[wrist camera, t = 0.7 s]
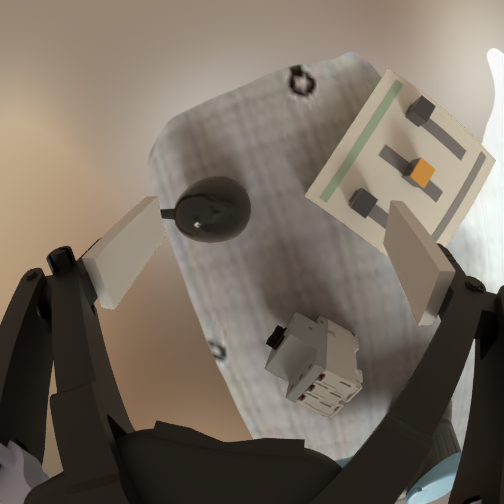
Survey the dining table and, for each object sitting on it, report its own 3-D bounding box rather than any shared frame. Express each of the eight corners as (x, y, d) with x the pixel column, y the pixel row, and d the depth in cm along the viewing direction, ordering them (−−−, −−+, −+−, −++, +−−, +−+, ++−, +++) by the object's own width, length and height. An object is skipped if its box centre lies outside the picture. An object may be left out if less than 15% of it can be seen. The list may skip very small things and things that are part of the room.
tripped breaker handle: (424, 170, 34) (435, 169, 30) (414, 187, 35) (424, 187, 31) (411, 160, 34) (421, 157, 30) (401, 176, 35) (410, 176, 31)
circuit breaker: (290, 297, 49) (274, 342, 35) (357, 335, 48) (363, 388, 34) (269, 329, 51) (248, 378, 37) (333, 364, 50) (331, 419, 36)
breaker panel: (481, 161, 35) (508, 159, 26) (411, 273, 43) (427, 292, 34) (382, 78, 36) (393, 57, 28) (306, 194, 44) (302, 197, 36)
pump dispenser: (199, 175, 48) (150, 174, 34) (258, 178, 46) (228, 176, 31) (197, 232, 51) (149, 253, 36) (254, 239, 48) (223, 264, 34)
